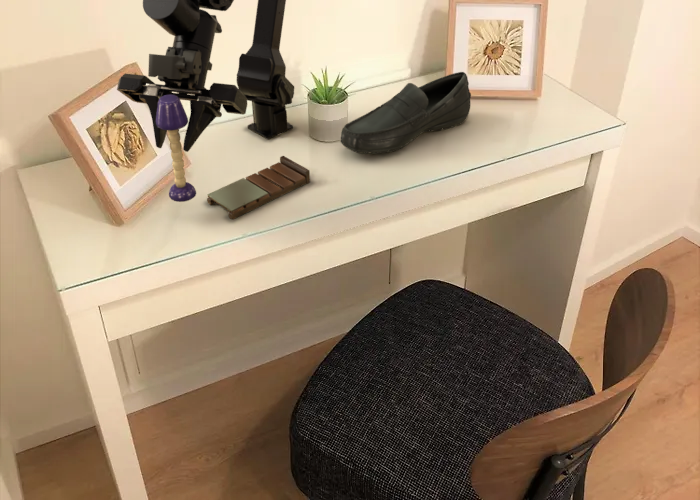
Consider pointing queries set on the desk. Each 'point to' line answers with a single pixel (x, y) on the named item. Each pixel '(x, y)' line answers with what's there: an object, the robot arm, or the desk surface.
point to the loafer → (410, 115)
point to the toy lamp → (175, 144)
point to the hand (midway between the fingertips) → (171, 149)
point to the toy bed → (260, 187)
